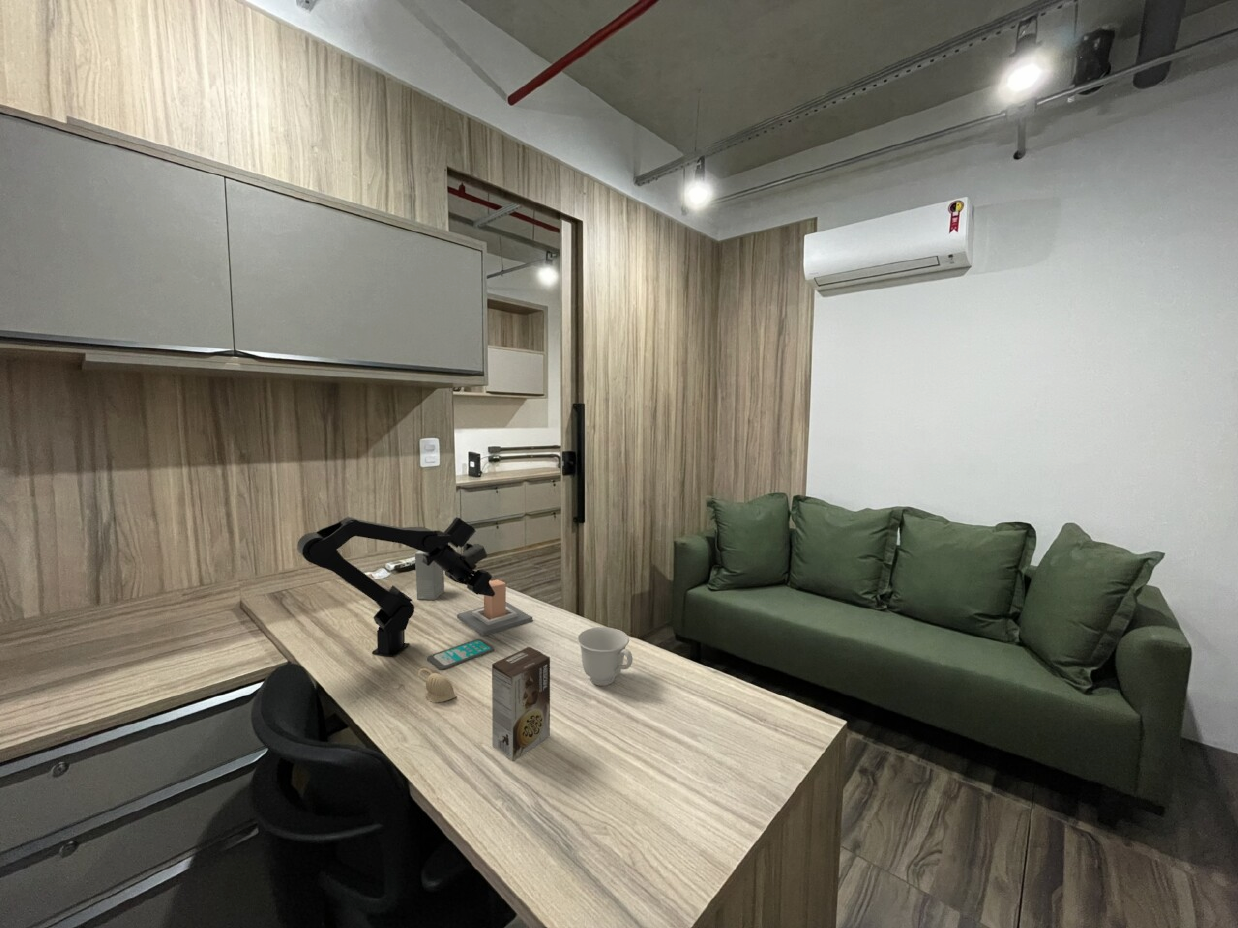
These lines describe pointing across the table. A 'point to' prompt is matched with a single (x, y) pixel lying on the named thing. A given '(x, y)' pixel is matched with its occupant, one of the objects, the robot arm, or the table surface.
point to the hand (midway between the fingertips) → (486, 590)
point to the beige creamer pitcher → (437, 687)
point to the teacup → (604, 653)
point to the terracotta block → (495, 600)
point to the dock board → (493, 620)
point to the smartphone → (460, 654)
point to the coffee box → (520, 702)
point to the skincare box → (428, 578)
